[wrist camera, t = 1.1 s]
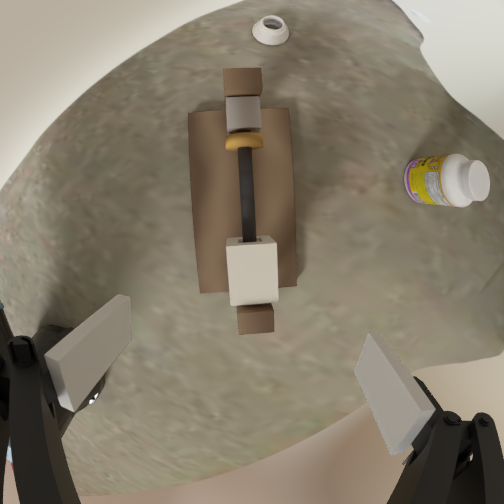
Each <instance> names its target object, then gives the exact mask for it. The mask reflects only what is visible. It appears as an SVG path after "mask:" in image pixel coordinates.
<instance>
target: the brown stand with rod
mask: <svg viewBox="0 0 504 504" xmlns="http://www.w3.org/2000/svg"><path fill="white" fill-rule="evenodd" d="M223 74H224V97H225V110H215V111H203V112H193V113H188V129H189V160H190V181H191V198H192V212H193V225H194V238H195V249H196V259H197V269H198V278H199V287H200V293H212V292H228V291H229V281H228V268H227V255H226V242H227V238H236V237H243V243H246V242H257V237H256V236H268V235H269V236H270V237H271V238H272V239H273V240H274V241H275V242H276V243H277V264H278V288H281V287H293V286H297V268H296V225H295V199H294V179H293V162H292V146H291V132H290V120H289V109H287V108H260V95H261V92H262V75H261V68H230V69H223ZM237 317H238V329H239V335H244V334H256V333H268V332H274V310H273V307H272V305H271V303H263V304H251V305H237Z"/></svg>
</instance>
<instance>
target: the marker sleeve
mask: <svg viewBox="0 0 504 504" xmlns="http://www.w3.org/2000/svg"><path fill="white" fill-rule="evenodd" d="M256 237H257V242H246V243H243V237H236V238H227V242H226V255H227V268H228V281H229V293H230V304H231V306H237V305H251V304H263V303H275V302H279V299H278V264H277V243H276V242H275V241H274V240H273V239H272V238H271V237H270V236H269V235H268V236H256Z"/></svg>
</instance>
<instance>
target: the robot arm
mask: <svg viewBox="0 0 504 504" xmlns="http://www.w3.org/2000/svg"><path fill="white" fill-rule="evenodd" d="M3 308H4V305H3V303H1V301H0V504H3V485H4V473H5V464H6V459H7V460H9V461H10V462H12V463H13V470H14V476H15V482H16V487H17V492H18V496H19V501H20V504H81V502H80V500H79V497H78V495H77V492H76V489H75V486H74V483H73V480H72V477H71V474H70V471H69V468H68V464H67V461H66V457H65V453H64V449H63V445H62V441H61V438H62V436H63V434H64V433H65V431H66V429H67V427H68V426H69V424H70V422H71V420H72V418H73V417H74V415H75V414H76V413H77V412H79V411H80V410H82V409H83V408H85V407H86V406H87V405H89V404H91V403H92V402H94V401H95V400H96V399H97V398H98V396H99V394H100V393H101V391H102V389H103V387H104V373H105V372H106V371H107V370H108V368H109V367H110V366H111V365H112V363H113V362H114V361H115V360H116V358H117V357H118V356H119V355H120V353H121V352H122V351H123V350H124V348H125V347H126V346H127V345H128V344H129V342H130V341H131V340H132V334H131V311H130V297H129V296H124V295H120V294H118V295H116V296H115V297H114V298H113V299H111V300H110V301H109V302H107V303H106V304H105V305H104V306H102V307H101V308H100V309H99V310H97V311H96V312H95V313H94V314H92V315H91V316H90V317H89V318H87V319H86V320H85V321H84V322H82V323H81V324H80V325H79V326H78V327H76V328H75V329H74V328H72V327H71V328H69V329H65V328H62V327H59V326H54V325H49V326H45V327H43V328H42V329H41V330H39V331H38V332H37V333H36V334H35V335H34V336H33V337H32V339H31V338H30V337H28V336H16V337H14V335H13V333H12V331H11V328H10V326H9V323H8V321H7V318H6V315H5V313H4V310H3ZM354 374H355V376H356V378H357V380H358V382H359V384H360V387H361V389H362V391H363V393H364V395H365V398H366V400H367V402H368V404H369V407H370V409H371V411H372V413H373V415H374V418H375V420H376V422H377V425H378V427H379V429H380V432H381V434H382V436H383V439H384V441H385V443H386V446H387V448H388V450H389V453H390V455H395V454H400V453H404V452H405V451H406V450H407V449H408V448H409V446H410V445H411V444H412V446H413V448H414V450H413V451H412V453H411V454H410V455H409V456H408V457H407V458H406V460H405V461H404V462H403V463H402V464H403V465H404V464H405V463H406V462H407V463H406V465H405V468H404V470H403V472H402V474H401V476H400V479H399V481H398V483H397V485H396V487H395V489H394V491H393V493H392V495H391V496H390V499H389V500H388V502H387V504H504V459H503V454H502V449H501V445H500V441H499V437H498V433H497V430H496V426H495V423H494V421H493V419H492V418H491V417H490V416H489V415H488V414H486V413H477V414H476V415H475V416H474V418H473V419H472V421H462V420H461V418H460V417H459V416H458V415H457V414H456V413H454V412H451V411H443V409H442V408H441V406H440V405H439V404H438V402H437V401H436V399H435V398H434V397H433V395H431V393H430V391H429V390H427V387H426V386H425V384H424V383H423V382H422V381H421V380H419V379H418V378H417V377H415V376H414V377H413V376H412V375H411V373H410V372H409V371H408V369H407V368H406V367H405V365H404V364H403V363H402V361H401V360H400V359H399V357H398V356H397V355H396V353H395V352H394V351H393V349H392V348H391V347H390V345H389V344H388V343H387V341H386V340H385V339H384V337H383V336H382V335H381V334H380V333H375V332H368V335H367V338H366V340H365V343H364V346H363V349H362V351H361V354H360V357H359V359H358V362H357V364H356V367H355V369H354ZM472 454H473V458H472V460H471V461H470V456H471V455H472Z"/></svg>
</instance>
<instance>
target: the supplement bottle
mask: <svg viewBox="0 0 504 504" xmlns="http://www.w3.org/2000/svg"><path fill="white" fill-rule="evenodd" d="M404 183H405V187H406V190H407V192H408V194H409V195H410V197H411V198H412V199H413V200H415V201H416V202H419V203H424V204H435V205H445V206H454V207H465V206H468V205H469V204H470V203H471V202H472V201H483V200H485V199H486V197H487V196H488V193H489V190H490V179H489V174H488V171H487V169H486V167H485V165H484V164H483V163H482V162H481V161H479V160H470V161H469V160H468V159H467V158H466V157H465V156H463V155H460V154H450V155H442V156H434V157H426V158H420V159H415V160H413V161H411V162H410V163H409V164H408V166H407V168H406V170H405V174H404Z"/></svg>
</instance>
